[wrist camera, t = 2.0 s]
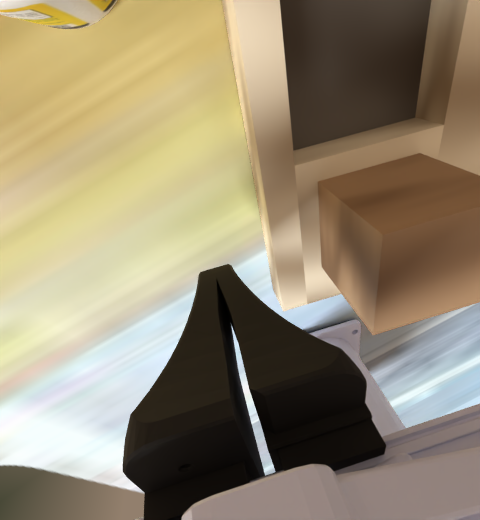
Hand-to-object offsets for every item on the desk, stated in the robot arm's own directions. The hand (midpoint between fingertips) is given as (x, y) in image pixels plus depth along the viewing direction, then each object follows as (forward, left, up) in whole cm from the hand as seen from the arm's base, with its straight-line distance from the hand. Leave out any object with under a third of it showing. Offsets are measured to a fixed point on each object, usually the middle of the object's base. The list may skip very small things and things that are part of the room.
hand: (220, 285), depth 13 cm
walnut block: (0, -8, -2) cm, 8 cm away
